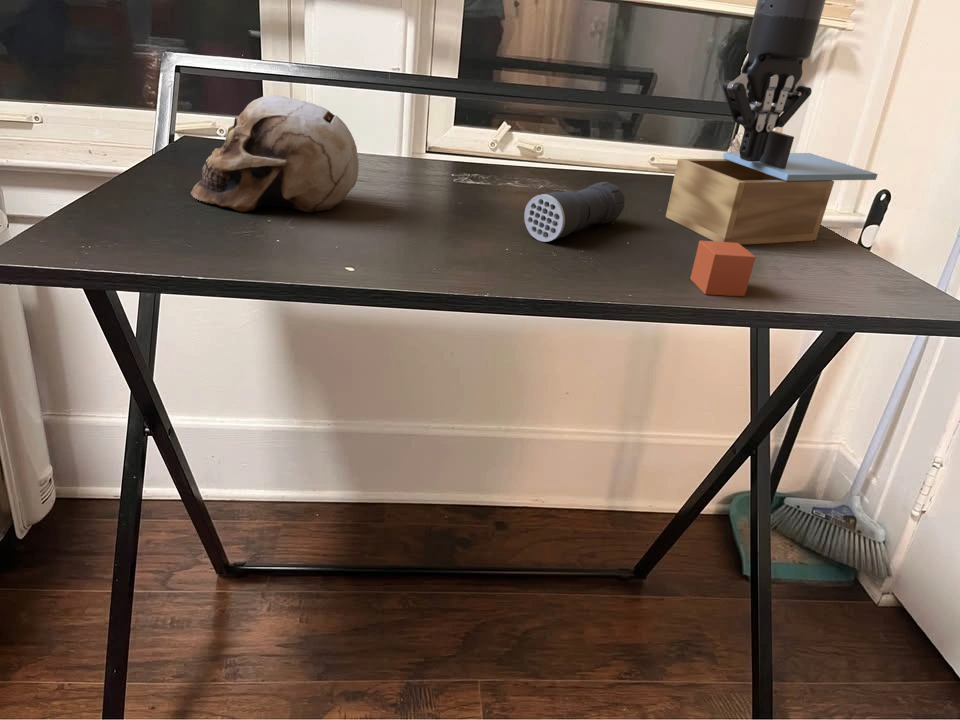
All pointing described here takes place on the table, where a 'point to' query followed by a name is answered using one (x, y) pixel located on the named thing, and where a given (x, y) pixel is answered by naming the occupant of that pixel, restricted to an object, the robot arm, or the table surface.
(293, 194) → the beige skull model
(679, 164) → the oak box
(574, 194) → the flashlight
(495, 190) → the table surface
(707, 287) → the block
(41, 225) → the table surface
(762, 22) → the robot arm
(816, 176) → the sliding lid
